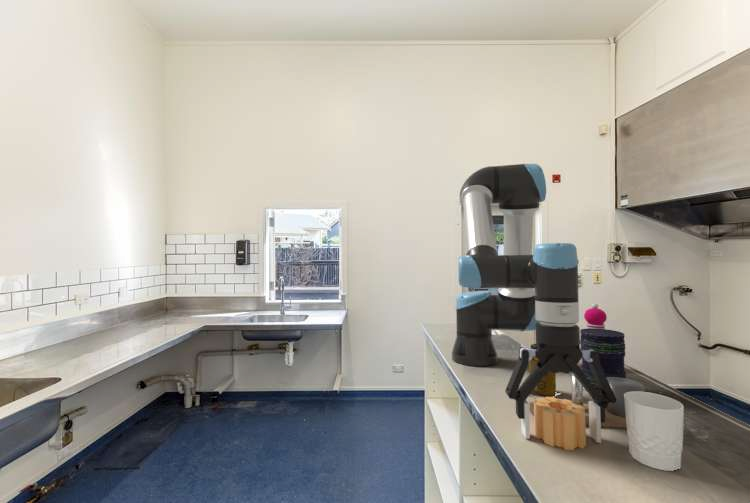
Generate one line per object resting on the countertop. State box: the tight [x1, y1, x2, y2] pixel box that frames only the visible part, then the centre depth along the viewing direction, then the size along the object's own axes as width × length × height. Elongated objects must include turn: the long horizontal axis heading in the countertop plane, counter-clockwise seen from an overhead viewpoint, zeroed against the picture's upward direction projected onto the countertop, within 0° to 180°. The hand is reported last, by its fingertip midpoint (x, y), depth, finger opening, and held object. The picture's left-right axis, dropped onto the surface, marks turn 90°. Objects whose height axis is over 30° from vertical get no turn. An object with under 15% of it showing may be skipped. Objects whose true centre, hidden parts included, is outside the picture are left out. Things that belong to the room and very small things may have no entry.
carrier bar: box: [528, 401, 627, 429], centre depth 72 cm, size 6×22×2 cm, turn 82°
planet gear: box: [533, 397, 587, 451], centre depth 65 cm, size 9×9×6 cm
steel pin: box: [571, 372, 584, 407], centre depth 72 cm, size 2×2×8 cm
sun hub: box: [605, 377, 645, 418], centre depth 71 cm, size 7×7×6 cm
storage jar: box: [580, 328, 627, 395], centre depth 88 cm, size 10×10×15 cm
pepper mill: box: [583, 303, 608, 329], centre depth 107 cm, size 7×7×20 cm
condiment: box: [528, 343, 558, 399], centre depth 87 cm, size 7×8×12 cm
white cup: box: [624, 391, 685, 472], centre depth 57 cm, size 8×8×10 cm
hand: (560, 437), depth 65 cm, fingers open, 12 cm apart
